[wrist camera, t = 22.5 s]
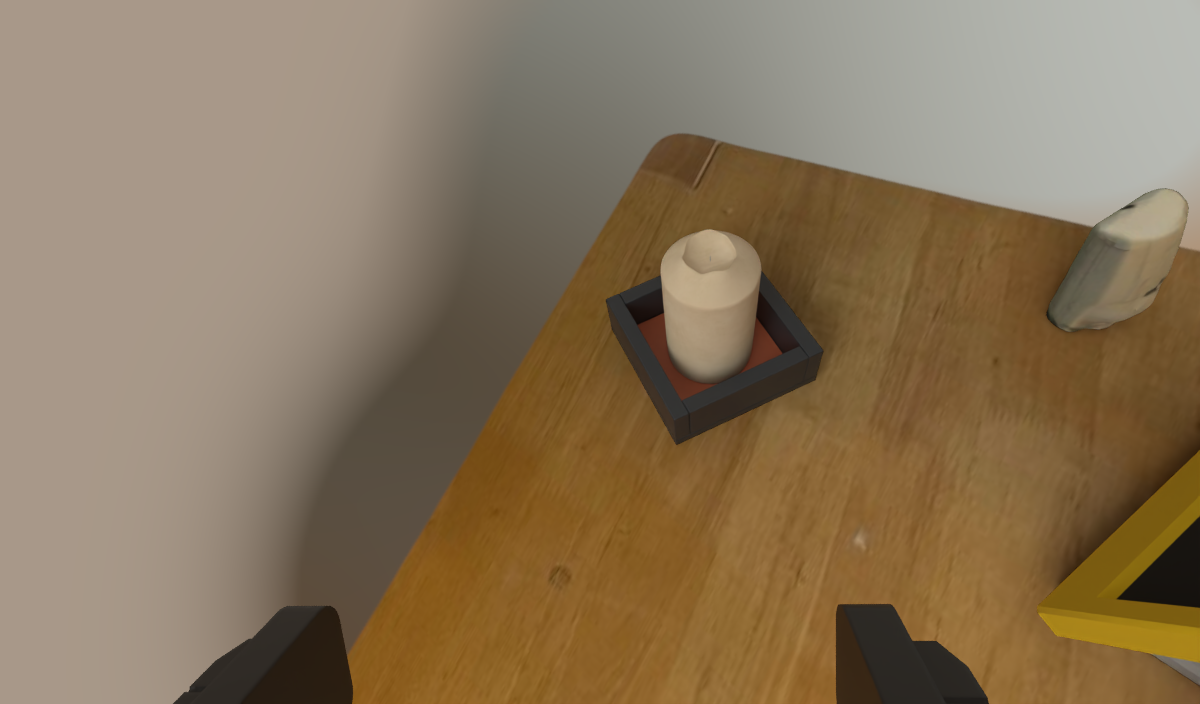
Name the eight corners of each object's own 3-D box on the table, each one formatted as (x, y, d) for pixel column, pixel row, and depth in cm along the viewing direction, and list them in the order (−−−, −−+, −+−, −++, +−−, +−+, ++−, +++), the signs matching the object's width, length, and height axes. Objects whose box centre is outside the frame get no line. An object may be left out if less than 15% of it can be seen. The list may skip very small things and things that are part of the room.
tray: (676, 445, 40) (673, 420, 37) (611, 329, 46) (605, 299, 43) (815, 380, 42) (824, 350, 39) (736, 273, 47) (738, 240, 44)
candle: (766, 367, 42) (782, 269, 33) (687, 396, 41) (682, 305, 33) (729, 304, 45) (735, 199, 36) (655, 331, 44) (644, 232, 36)
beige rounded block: (1044, 259, 44) (1105, 170, 37) (1133, 279, 42) (1215, 189, 35) (1033, 325, 41) (1097, 242, 35) (1128, 348, 40) (1214, 266, 33)
